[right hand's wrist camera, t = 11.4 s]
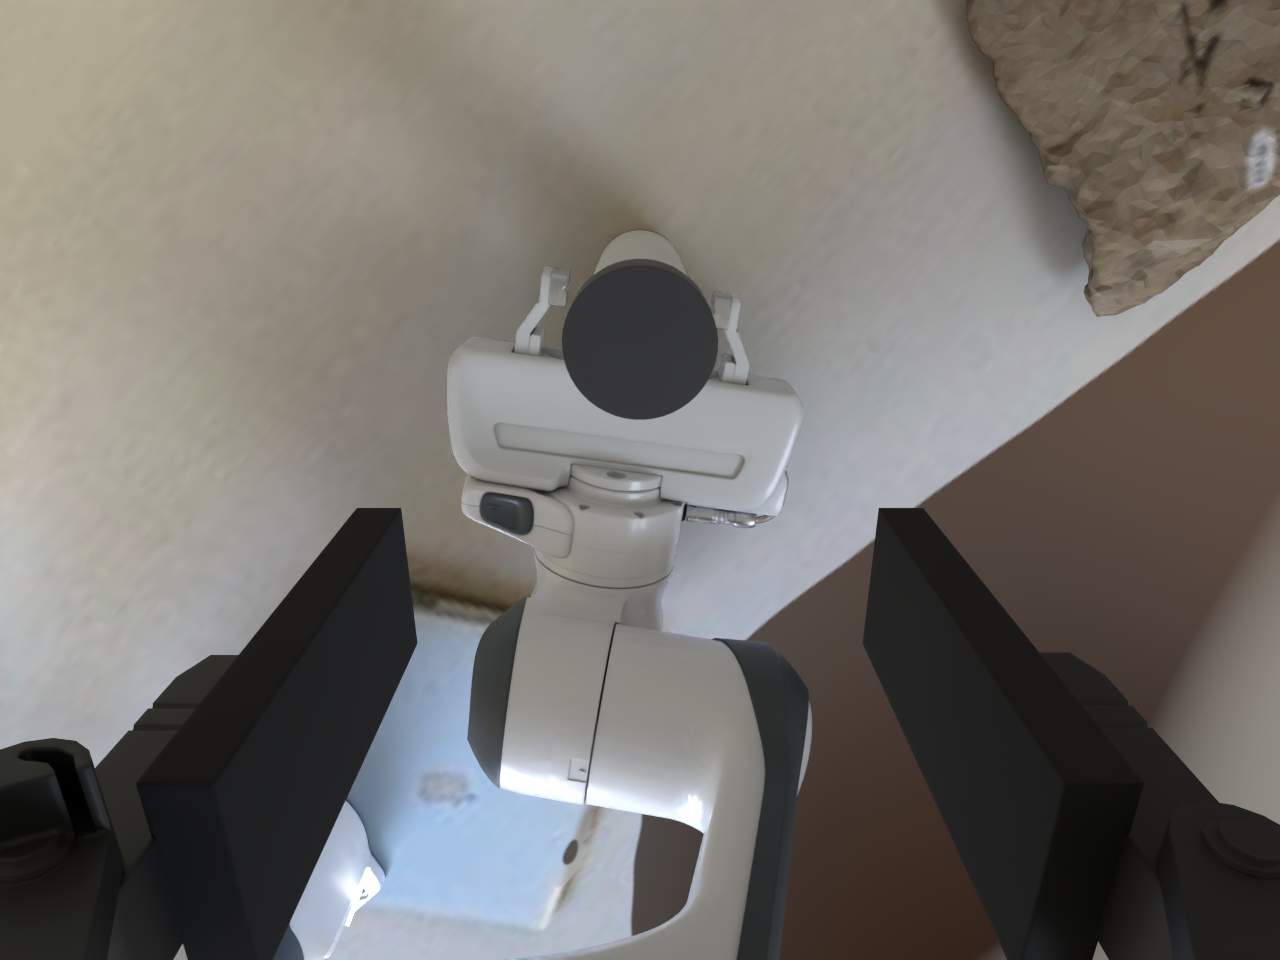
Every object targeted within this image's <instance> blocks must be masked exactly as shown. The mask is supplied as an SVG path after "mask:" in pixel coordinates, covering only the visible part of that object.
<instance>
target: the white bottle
mask: <svg viewBox="0 0 1280 960" xmlns="http://www.w3.org/2000/svg"><path fill="white" fill-rule="evenodd" d="M629 259H651V260H656V261H660V262H663V263H666V264H669V265H671V266H673V267H675V268H677V269H678V270H680V271H682V272H683V273H684V274H685V275H686V272H685V270H684V267H683V265H682V262H681V260H680V257H679V255H678V253H677V251H676V249H675V248H674V247H673V245H672V244H671V243H670V242H669V241H668V240H666V239H665V238H664V237H662V236H660V235H658V234H656V233H654V232H650V231H645V230H636V231H630V232H626V233H624V234H621V235H620V236H618V237H616V238H615V239H614V240H612V241H611V242H610V243H609V244H608V245H607V247H606V248H605V249H604V251H603V253H602V255H601V257H600V260H599V262H598V265H597V267H596V270H595V272H594V275H595V274H596V273H597V272H598V271H600V270H602V269H603V268H605V267H607V266H609V265H612V264H614V263H616V262H620V261H624V260H629Z"/></svg>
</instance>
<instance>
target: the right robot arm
mask: <svg viewBox="0 0 1280 960" xmlns="http://www.w3.org/2000/svg"><path fill="white" fill-rule="evenodd" d="M416 645H417V637H416V628H415V620H414V612H413V603H412V595H411V587H410V579H409V570H408V562H407V554H406V545H405V537H404V529H403V520H402V512H401V508H357V509H356V510H355V511H354V512H353V514H352V515H351V516H350V517H349V519H348V520H347V521H346V522H345V524H344V525H343V526H342V527H341V529H340V530H339V531H338V532H337V534H336V535H335V536H334V537H333V539H332V540H331V541H330V542H329V544H328V545H327V546H326V547H325V549H324V550H323V551H322V552H321V553H320V555H319V556H318V557H317V558H316V560H315V561H314V562H313V563H312V565H311V566H310V567H309V568H308V570H307V571H306V572H305V573H304V575H303V576H302V577H301V578H300V580H299V581H298V582H297V583H296V585H295V586H294V587H293V588H292V590H291V591H290V592H289V593H288V595H287V596H286V597H285V598H284V599H283V601H282V602H281V603H280V604H279V606H278V607H277V608H276V609H275V611H274V612H273V613H272V614H271V616H270V617H269V618H268V619H267V621H266V622H265V623H264V624H263V626H262V627H261V628H260V629H259V631H258V632H257V633H256V634H255V636H254V637H253V638H252V639H251V641H250V642H249V643H248V644H247V646H246V647H245V648H244V649H243V650H242V652H241V653H240V654H239V655H210V656H209V657H207V658H206V659H204V660H202V661H201V662H199V663H198V664H196V665H195V666H193V667H192V668H190V669H188V670H187V671H185V672H184V673H182V674H181V675H179V676H177V677H176V678H175V679H174V680H173V681H172V683H171V684H170V685H169V686H168V687H167V688H166V689H165V690H164V692H163V693H162V694H161V695H160V696H159V697H158V698H157V699H156V701H155V702H154V703H153V708H152V709H148V710H147V711H146V712H145V713H144V714H143V715H142V716H141V717H140V719H139V720H138V721H137V722H136V723H135V724H134V729H133V731H128V732H127V733H126V734H125V735H124V736H123V738H122V739H121V740H120V741H119V742H118V743H117V744H116V745H115V747H114V748H113V749H112V750H111V751H110V752H109V753H108V754H107V756H106V757H105V758H104V759H103V760H102V761H101V762H100V763H99V765H98V766H97V767H96V768H94V765H93V762H92V758H91V755H90V752H89V750H88V749H86V748H85V747H84V746H82V745H81V744H79V743H78V742H77V741H72V740H64V739H57V738H50V739H43V740H35V741H28V742H23V743H20V744H17V745H13V746H10V747H7V748H4V749H1V750H0V960H173V959H174V958H175V956H176V954H177V953H178V951H179V949H180V947H181V946H182V944H183V946H184V949H185V953H186V956H187V959H188V960H273V958H274V956H275V954H276V952H277V949H278V947H279V945H280V943H281V941H282V938H283V936H284V934H285V932H286V930H287V928H288V925H289V923H290V921H291V919H292V917H293V914H294V912H295V910H296V908H297V906H298V903H299V901H300V899H301V897H302V895H303V893H304V890H305V888H306V886H307V884H308V882H309V879H310V877H311V875H312V873H313V871H314V868H315V866H316V864H317V862H318V860H319V858H320V855H321V853H322V851H323V849H324V847H325V844H326V842H327V840H328V838H329V836H330V833H331V831H332V829H333V827H334V825H335V822H336V820H337V818H338V816H339V814H340V812H341V809H342V807H343V805H344V803H345V801H346V798H347V796H348V794H349V792H350V790H351V787H352V785H353V783H354V781H355V779H356V777H357V774H358V772H359V770H360V768H361V766H362V763H363V761H364V759H365V757H366V755H367V752H368V750H369V748H370V746H371V744H372V742H373V739H374V737H375V735H376V733H377V731H378V728H379V726H380V724H381V722H382V720H383V717H384V715H385V713H386V711H387V709H388V707H389V704H390V702H391V700H392V698H393V696H394V693H395V691H396V689H397V687H398V685H399V682H400V680H401V678H402V676H403V674H404V671H405V669H406V667H407V665H408V663H409V661H410V658H411V656H412V654H413V652H414V650H415V647H416ZM863 645H864V647H865V650H866V652H867V654H868V656H869V658H870V661H871V663H872V665H873V667H874V669H875V671H876V674H877V676H878V678H879V680H880V682H881V685H882V687H883V689H884V691H885V693H886V696H887V698H888V700H889V702H890V704H891V707H892V709H893V711H894V713H895V715H896V717H897V720H898V722H899V724H900V726H901V728H902V730H903V733H904V735H905V737H906V739H907V742H908V744H909V746H910V748H911V750H912V752H913V755H914V757H915V759H916V761H917V763H918V766H919V768H920V770H921V772H922V774H923V777H924V779H925V781H926V783H927V785H928V787H929V790H930V792H931V794H932V796H933V798H934V801H935V803H936V805H937V807H938V809H939V812H940V814H941V816H942V818H943V820H944V822H945V825H946V827H947V829H948V831H949V833H950V836H951V838H952V840H953V842H954V844H955V847H956V849H957V851H958V853H959V855H960V857H961V860H962V862H963V864H964V866H965V868H966V870H967V873H968V875H969V877H970V879H971V881H972V884H973V886H974V888H975V890H976V893H977V895H978V897H979V899H980V901H981V903H982V906H983V908H984V910H985V912H986V914H987V917H988V919H989V921H990V923H991V925H992V927H993V930H994V932H995V934H996V936H997V938H998V941H999V943H1000V945H1001V947H1002V949H1003V952H1004V954H1005V956H1006V958H1007V960H1092V959H1093V956H1094V952H1095V949H1096V946H1097V942H1099V943H1100V945H1101V947H1102V948H1103V950H1104V952H1105V954H1106V955H1107V957H1108V959H1109V960H1280V825H1279V824H1277V823H1275V822H1274V821H1272V820H1270V819H1268V818H1267V817H1265V816H1263V815H1260V814H1257V813H1254V812H1251V811H1249V810H1246V809H1243V808H1240V807H1237V806H1235V805H1230V804H1223V803H1219V802H1218V801H1217V800H1216V799H1215V798H1214V796H1213V795H1212V794H1211V793H1210V792H1209V791H1208V790H1207V789H1206V787H1205V786H1204V785H1203V784H1202V783H1201V782H1200V781H1199V780H1198V779H1197V777H1196V776H1195V775H1194V774H1193V773H1192V772H1191V771H1190V770H1189V768H1188V767H1187V766H1186V765H1185V764H1184V763H1183V762H1182V761H1181V760H1180V759H1179V757H1178V756H1177V755H1176V754H1175V753H1174V752H1173V751H1172V750H1171V748H1170V747H1169V746H1168V745H1167V744H1166V743H1165V742H1164V741H1163V740H1162V738H1161V737H1160V736H1159V735H1158V734H1157V733H1156V732H1155V731H1154V729H1153V728H1148V727H1147V722H1146V720H1145V719H1144V718H1143V717H1142V716H1141V715H1140V714H1139V713H1138V712H1137V710H1136V709H1135V708H1134V707H1133V706H1128V700H1127V699H1126V698H1125V697H1124V696H1123V695H1122V694H1121V693H1120V691H1119V690H1118V689H1117V688H1116V687H1115V686H1114V685H1113V684H1112V683H1111V681H1110V680H1109V679H1108V678H1107V677H1106V676H1105V675H1104V674H1102V673H1101V672H1099V671H1098V670H1096V669H1095V668H1093V667H1092V666H1090V665H1088V664H1087V663H1085V662H1084V661H1082V660H1081V659H1079V658H1077V657H1076V656H1074V655H1073V654H1071V653H1039V652H1038V650H1037V649H1036V648H1035V647H1034V646H1033V644H1032V643H1031V642H1030V641H1029V639H1028V638H1027V637H1026V636H1025V634H1024V633H1023V632H1022V631H1021V629H1020V628H1019V627H1018V626H1017V624H1016V623H1015V622H1014V621H1013V619H1012V618H1011V617H1010V616H1009V614H1008V613H1007V612H1006V611H1005V609H1004V608H1003V607H1002V606H1001V604H1000V603H999V602H998V601H997V599H996V598H995V597H994V596H993V595H992V593H991V592H990V591H989V590H988V588H987V587H986V586H985V585H984V583H983V582H982V581H981V580H980V578H979V577H978V576H977V575H976V573H975V572H974V571H973V570H972V568H971V567H970V566H969V565H968V563H967V562H966V561H965V560H964V558H963V557H962V556H961V555H960V553H959V552H958V551H957V550H956V549H955V547H954V546H953V545H952V544H951V542H950V541H949V540H948V539H947V537H946V536H945V535H944V534H943V532H942V531H941V530H940V529H939V527H938V526H937V525H936V524H935V522H934V521H933V520H932V519H931V517H930V516H929V515H928V514H927V512H926V511H925V510H924V509H923V508H879V512H878V520H877V529H876V537H875V545H874V554H873V562H872V570H871V579H870V587H869V595H868V604H867V612H866V620H865V629H864V637H863Z"/></svg>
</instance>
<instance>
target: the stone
mask: <svg viewBox="0 0 1280 960" xmlns="http://www.w3.org/2000/svg"><path fill="white" fill-rule="evenodd" d="M966 9H967V10H968V14H967V22H968V25H969V29H970V34H971V37H972V39H973V40H974V42H975V43H976V45H977V46H978V47H979V49H980V51H981V52H982V53H983V54H984V55H985V56H986V57H988V58H989V59H990V60H991V61H992V62H993V63H994V64H993V76H994V78H995V81H996V86H997V92H998V94H999V95H1000V97H1001V98H1002V100H1003V101H1004V102H1005V104H1006V105H1007V106H1008V107H1010V108H1011V109H1012V110H1013V111H1014V112H1015V113H1016V115H1017V117H1018V118H1019V120H1020V122H1021V123H1022V125H1023V126H1024V127H1025V129H1026V130H1027V131H1029V132H1031V140H1032V142H1033V143H1034V144H1035V146H1036V147H1037V148H1038V149H1039V152H1040V160H1041V163H1042V166H1043V171H1044V178H1045V179H1046V180H1047V182H1048V183H1049V184H1050V185H1058V186H1061V187H1063V188H1064V189H1066V190H1067V191H1068V198H1069V200H1070V201H1071V202H1072V203H1073V205H1074V206H1075V207H1076V210H1077V213H1078V217H1079V219H1081V220H1082V221H1083V223H1084V224H1085V225H1086V226H1087V231H1086V235H1085V239H1084V241H1083V243H1082V244H1083V252H1084V258H1085V260H1086V262H1087V264H1088V266H1089V276H1088V284H1087V285H1086V286H1085V289H1084V294H1085V297H1086V299H1087V301H1088V302H1089V304H1090V305H1091V306H1092V309H1093V312H1094V313H1095V315H1096V316H1098V317H1099V316H1107V315H1117V314H1119V313H1122V312H1124V311H1126V310H1128V309H1130V308H1133V307H1135V306H1137V305H1140V304H1143V303H1145V302H1146V301H1148V300H1149V299H1150V298H1152V297H1153V296H1155V295H1157V294H1160V293H1162V292H1163V291H1165V290H1166V289H1167V288H1169V287H1170V286H1171V285H1173V284H1174V283H1175V282H1177V281H1178V280H1179V279H1180V278H1181V277H1182V276H1183V275H1184V274H1185V273H1186V272H1188V271H1190V270H1191V269H1193V268H1195V267H1197V266H1199V265H1200V264H1201V263H1202V262H1203V261H1204V260H1205V259H1207V258H1208V257H1209V256H1211V255H1212V254H1213V253H1214V252H1215V250H1216V249H1217V248H1218V247H1219V246H1220V245H1221V244H1222V242H1223V241H1224V240H1226V239H1227V238H1229V237H1230V236H1231V235H1233V234H1234V233H1235V232H1236V231H1237V230H1238V229H1239V228H1240V227H1242V226H1243V225H1244V224H1246V223H1247V222H1248V221H1250V220H1251V219H1252V218H1253V217H1255V216H1256V215H1257V214H1259V213H1260V212H1261V211H1262V210H1263V209H1265V207H1266V206H1267V205H1268V204H1269V203H1270V202H1271V201H1272V200H1273V199H1274V198H1276V197H1277V196H1279V195H1280V0H967V1H966Z"/></svg>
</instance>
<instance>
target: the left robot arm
mask: <svg viewBox="0 0 1280 960" xmlns="http://www.w3.org/2000/svg"><path fill="white" fill-rule="evenodd" d="M570 278H571V270H565V269H559V268H553V267H544V268H543V271H542V276H541V285H540V296H539V300H538V301H537V303H536V304H535V306H534V307H533V308H532V310H531V311H530V313H529V314H528V315H527V317H526V318H525V319H524V321H523V322H522V324H521V325H520V326H519V328H518V329H517V331H516V336H515V342H510V341H503V340H496V339H489V338H482V337H472V338H469V339H468V340H467V341H466V342H464V343H463V344H462V345H461V346H459V347H458V348H457V349H456V350H455V352H454V353H453V354H452V356H451V358H450V360H449V363H448V369H447V410H448V424H449V434H450V441H451V447H452V451H453V454H454V457H455V459H456V461H457V462H458V464H459V465H460V467H461V468H462V469H463V470H464V471H465V472H466V473H468V475H467V477H466V480H465V483H464V487H463V492H462V498H461V508H462V511H463V513H464V514H465V515H466V516H467V517H468V518H470V519H472V520H474V521H476V522H478V523H481V524H483V525H485V526H488V527H490V528H493V529H495V530H497V531H500V532H502V533H504V534H506V535H509V536H511V537H513V538H515V539H517V540H520V541H522V542H524V543H526V544H528V545H530V546H532V547H534V557H535V563H536V568H537V581H536V586H535V588H534V591H533V593H532V595H531V597H530V598H527V597H524V598H523V599H521V600H519V601H518V602H516V603H515V604H514V605H512V606H511V607H510V608H509V609H508V610H507V611H505V612H504V613H503V614H502V615H501V616H500V617H498V618H497V619H496V620H495V621H494V622H493V623H491V624H490V625H489V627H488V628H487V629H486V630H485V632H484V634H483V635H482V637H481V640H480V642H479V645H478V648H477V651H476V656H475V661H474V667H473V676H472V687H471V700H470V715H469V728H468V738H467V739H468V742H469V744H470V746H471V748H472V751H473V753H474V755H475V757H476V758H477V760H478V762H479V764H480V766H481V768H482V769H483V771H484V772H485V774H486V775H487V777H488V778H489V779H490V780H491V781H492V782H493V784H494V785H495V786H497V787H498V788H503V789H507V790H510V791H513V792H516V793H520V794H525V795H531V796H536V797H542V798H547V799H552V800H558V801H564V802H569V803H575V804H580V805H584V804H585V800H586V804H590V805H595V806H601V807H607V808H612V809H618V810H624V811H629V812H635V813H641V814H647V815H652V816H658V817H663V818H669V819H673V820H677V821H680V822H683V823H686V824H688V825H690V826H692V827H694V828H696V829H698V830H699V831H701V832H702V833H704V836H703V840H702V844H701V848H700V852H699V856H698V860H697V864H696V868H695V872H694V876H693V881H692V885H691V889H690V893H689V897H688V901H687V903H686V905H685V907H684V908H683V909H682V910H681V911H680V912H679V913H678V914H677V915H676V916H675V917H673V918H672V919H671V920H669V921H667V922H666V923H664V924H662V925H660V926H658V927H656V928H654V929H651V930H649V931H647V932H644V933H641V934H638V935H635V936H632V937H628V938H625V939H621V940H618V941H614V942H611V943H606V944H602V945H598V946H594V947H590V948H585V949H580V950H574V951H569V952H563V953H557V954H549V955H542V956H534V957H525V958H515V959H505V960H779V955H780V946H781V938H782V930H783V921H784V912H785V902H786V893H787V884H788V874H789V865H790V855H791V846H792V836H793V827H794V818H795V808H796V800H797V795H798V792H799V789H800V787H801V784H802V781H803V778H804V774H805V771H806V767H807V763H808V759H809V753H810V746H811V737H812V716H811V708H810V703H809V693H808V688H807V687H806V685H805V684H804V682H803V681H802V679H801V678H800V676H799V675H798V674H797V672H796V671H795V670H794V668H793V667H792V666H791V665H790V664H789V663H788V662H787V660H786V659H785V658H784V657H783V656H782V655H781V654H780V653H779V652H778V651H777V650H776V649H775V648H774V647H773V646H772V645H771V644H770V643H767V642H756V641H744V640H732V639H720V638H714V639H705V638H699V637H693V636H687V635H681V634H675V633H669V632H663V631H662V629H663V612H662V605H661V599H662V594H663V590H664V588H665V586H666V584H667V583H668V581H669V579H670V577H671V574H672V571H673V567H674V561H675V556H676V550H677V545H678V539H679V533H680V527H681V522H683V520H684V521H692V522H701V523H711V524H712V523H713V524H716V523H718V524H721V523H722V524H728V525H733V526H734V527H739V528H753V527H755V524H756V523H762V522H766V521H768V520H770V519H772V518H773V517H775V516H776V515H778V514H779V512H780V511H781V509H782V507H783V505H784V501H785V496H786V492H787V488H788V474H787V471H786V468H787V465H788V463H789V460H790V458H791V455H792V452H793V449H794V446H795V444H796V441H797V438H798V434H799V431H800V428H801V424H802V420H803V415H804V408H803V404H802V401H801V399H800V397H799V396H798V394H797V393H796V391H795V390H794V389H793V387H792V386H791V385H790V384H789V383H788V382H787V381H785V380H780V379H773V378H766V377H759V376H752V375H748V372H749V367H750V364H749V361H748V358H747V355H746V352H745V350H744V347H743V344H742V341H741V338H740V335H739V333H738V330H737V323H738V318H739V313H740V307H741V297H740V295H738V294H730V293H723V292H716V291H714V292H713V295H712V300H711V302H712V305H713V307H712V308H711V309H710V310H711V312H712V315H713V317H714V320H715V324H716V328H719V329H724V332H725V335H726V338H727V341H728V343H729V346H730V349H731V352H732V356H731V355H730V354H725V353H724V354H722V357H721V362H720V367H719V371H716V370H713V371H712V373H711V375H710V377H709V380H708V381H707V383H706V384H705V386H704V387H703V389H702V390H701V391H700V392H699V394H698V395H697V396H696V397H695V398H694V399H693V400H692V401H690V402H689V403H688V404H687V405H685V406H684V407H682V408H681V409H679V410H677V411H675V412H673V413H671V414H668V415H666V416H663V417H659V418H655V419H647V420H633V419H625V418H621V417H617V416H614V415H612V414H609V413H607V412H605V411H603V410H601V409H599V408H598V407H596V406H595V405H594V404H592V403H591V402H589V401H588V400H587V399H586V398H585V397H584V396H583V395H582V394H581V392H580V391H579V390H578V389H577V387H576V386H575V384H574V383H573V381H572V379H571V378H570V375H569V373H568V371H567V368H566V365H565V362H564V357H563V351H562V349H560V348H553V347H546V346H543V343H544V331H545V330H544V328H541V327H536V328H535V326H536V324H537V323H538V322H539V320H540V319H541V318H542V316H543V315H544V313H545V312H546V311H547V309H548V308H549V307H550V305H558V306H566V303H567V302H568V296H569V288H568V284H569V283H570ZM685 502H686V505H685ZM756 514H761V515H763V516H759V517H756ZM586 795H587V797H586ZM384 880H385V874H384V872H383V870H382V868H381V867H380V865H379V864H378V863H377V861H376V860H375V859H374V857H373V856H372V855H371V852H370V849H369V845H368V839H367V834H366V831H365V828H364V825H363V823H362V821H361V819H360V817H359V816H358V814H357V813H356V811H355V810H354V809H353V807H352V806H351V805H350V804H349V803H348V802H347V801H345V803H344V805H343V807H342V809H341V812H340V814H339V816H338V818H337V820H336V822H335V825H334V827H333V829H332V831H331V833H330V836H329V838H328V840H327V842H326V844H325V847H324V849H323V851H322V853H321V855H320V858H319V860H318V862H317V864H316V866H315V868H314V871H313V873H312V875H311V877H310V879H309V882H308V884H307V886H306V888H305V890H304V893H303V895H302V897H301V899H300V901H299V903H298V906H297V908H296V910H295V912H294V914H293V917H292V919H291V921H290V923H289V925H288V928H287V930H286V932H285V934H284V936H283V938H282V941H281V943H280V945H279V947H278V949H277V952H276V954H275V956H274V958H273V960H326V959H327V958H328V957H329V956H330V955H331V953H332V952H333V950H334V948H335V946H336V943H337V941H338V939H339V937H340V934H341V932H342V930H343V927H344V925H345V923H346V926H349V925H350V922H351V919H352V917H353V914H354V912H355V911H356V910H358V909H359V908H360V907H361V906H362V905H363V904H364V903H366V902H367V901H368V900H369V899H370V898H371V897H373V896H374V895H375V894H376V893H377V892H378V891H379V890H380V888H381V886H382V884H383V882H384ZM347 918H348V919H347ZM346 921H347V922H346ZM173 960H188V959H187V956H186V953H185V949H184V946H183V944H182V946H181V947H180V949H179V951H178V953H177V954H176V956H175V958H174V959H173Z"/></svg>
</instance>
